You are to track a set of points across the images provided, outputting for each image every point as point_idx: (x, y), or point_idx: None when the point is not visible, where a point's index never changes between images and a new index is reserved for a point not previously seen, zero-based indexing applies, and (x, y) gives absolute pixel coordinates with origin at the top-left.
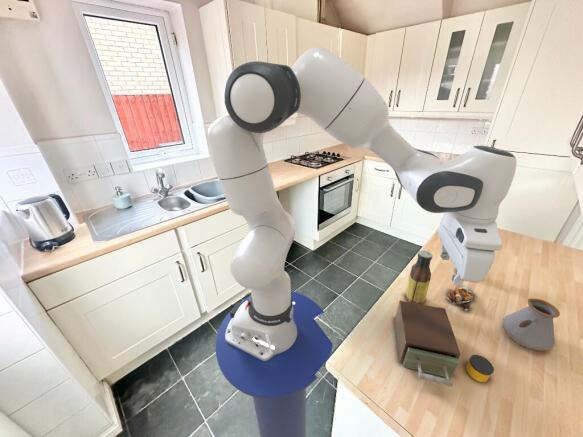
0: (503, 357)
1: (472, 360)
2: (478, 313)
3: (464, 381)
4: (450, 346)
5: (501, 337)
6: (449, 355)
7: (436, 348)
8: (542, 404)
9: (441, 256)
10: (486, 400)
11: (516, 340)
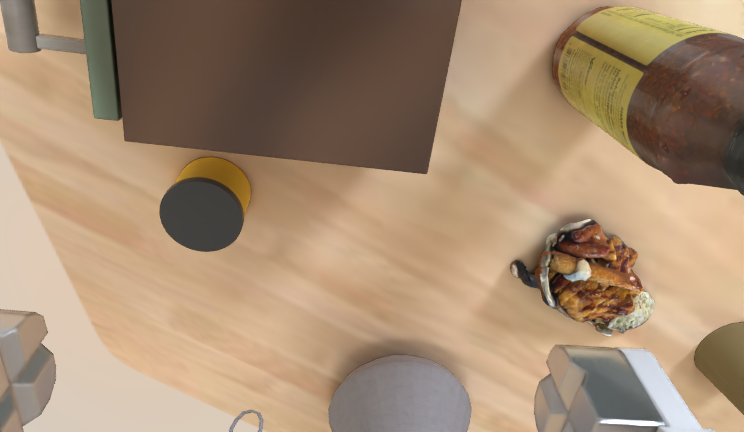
0: (302, 298)
1: (208, 189)
2: (499, 306)
3: None
4: (157, 107)
5: (388, 329)
6: None
7: (119, 23)
8: (159, 322)
9: (598, 363)
10: (110, 175)
11: (360, 367)
